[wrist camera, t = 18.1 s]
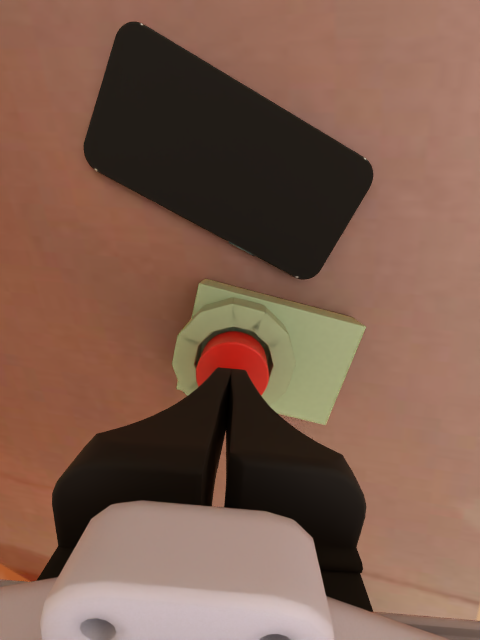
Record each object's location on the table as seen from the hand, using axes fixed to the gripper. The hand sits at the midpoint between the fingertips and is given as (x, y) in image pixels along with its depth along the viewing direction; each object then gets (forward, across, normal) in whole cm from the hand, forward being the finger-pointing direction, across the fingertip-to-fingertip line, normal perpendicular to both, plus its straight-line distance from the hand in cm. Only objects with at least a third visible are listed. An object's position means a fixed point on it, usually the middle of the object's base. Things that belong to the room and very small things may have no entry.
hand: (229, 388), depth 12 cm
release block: (+6, -2, 0) cm, 7 cm away
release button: (+3, 0, 0) cm, 3 cm away
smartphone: (+7, +1, -10) cm, 12 cm away
